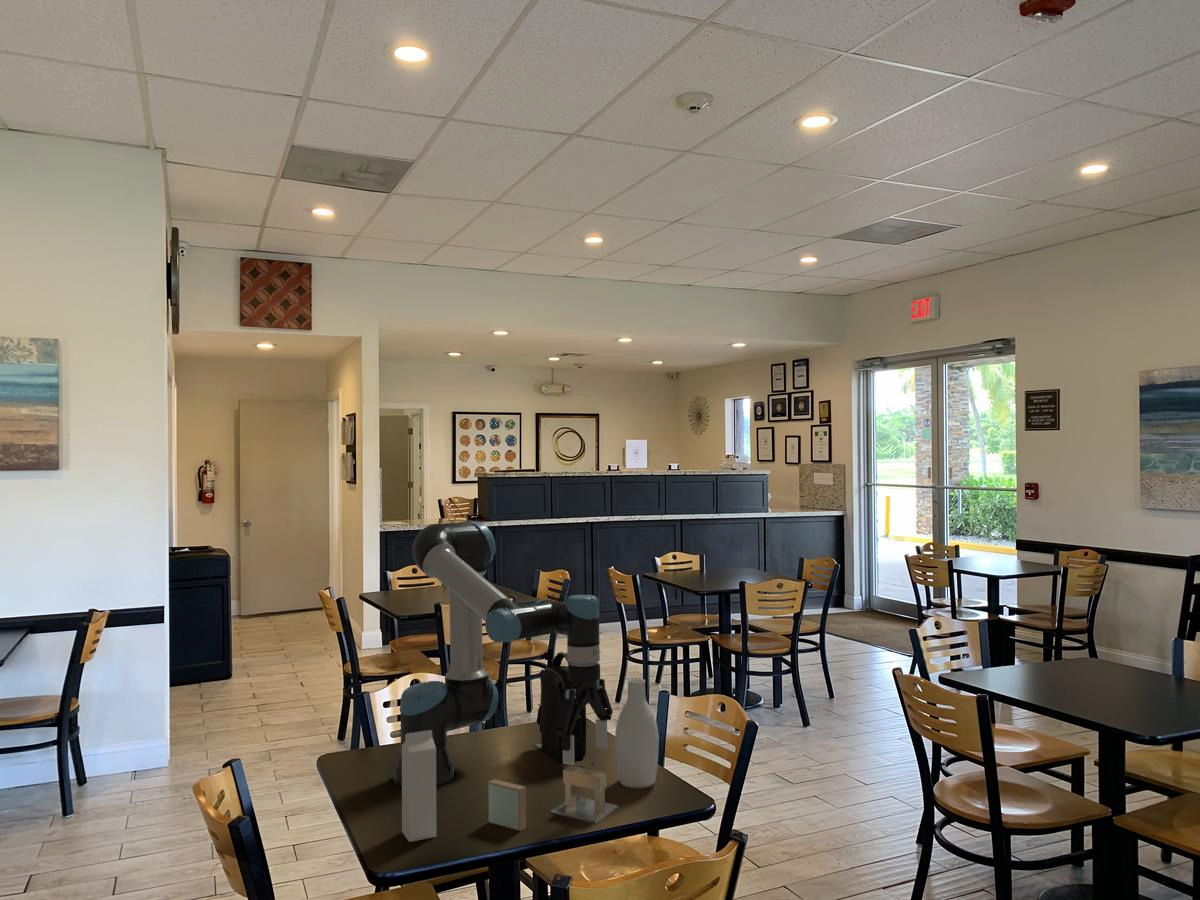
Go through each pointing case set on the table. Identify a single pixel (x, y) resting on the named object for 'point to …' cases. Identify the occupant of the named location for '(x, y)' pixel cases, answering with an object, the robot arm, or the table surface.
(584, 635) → the robot arm
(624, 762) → the bottle
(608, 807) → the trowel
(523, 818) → the tile
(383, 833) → the table surface
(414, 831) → the milk
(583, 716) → the shoulder bag
